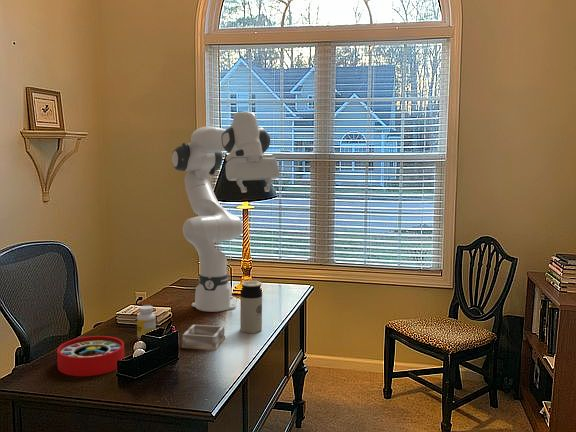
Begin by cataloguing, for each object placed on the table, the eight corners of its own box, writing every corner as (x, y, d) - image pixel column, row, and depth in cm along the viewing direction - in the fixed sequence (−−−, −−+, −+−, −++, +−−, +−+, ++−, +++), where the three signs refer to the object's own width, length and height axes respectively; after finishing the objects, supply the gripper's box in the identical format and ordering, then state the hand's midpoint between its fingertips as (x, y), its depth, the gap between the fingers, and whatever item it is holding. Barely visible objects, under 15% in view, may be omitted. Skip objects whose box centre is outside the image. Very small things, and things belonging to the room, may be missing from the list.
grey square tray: (192, 336, 215) (192, 324, 215) (225, 338, 213) (225, 326, 213) (181, 347, 204) (181, 334, 203) (215, 350, 202) (215, 337, 201)
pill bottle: (138, 336, 215) (138, 304, 213) (157, 335, 215) (156, 304, 214) (135, 342, 208) (135, 309, 207) (154, 342, 209) (154, 309, 207)
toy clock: (93, 332, 201) (137, 342, 191) (93, 348, 202) (138, 360, 192) (42, 350, 184) (88, 362, 174) (43, 368, 185) (89, 382, 175)
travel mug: (235, 330, 223) (236, 282, 221) (251, 325, 229) (251, 279, 226) (250, 335, 218) (251, 286, 215) (266, 330, 223) (266, 283, 221)
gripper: (271, 156, 224) (277, 192, 221) (221, 157, 213) (226, 194, 211) (279, 151, 218) (285, 188, 216) (228, 151, 208) (234, 190, 206)
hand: (256, 191), depth 213 cm, fingers open, 8 cm apart
